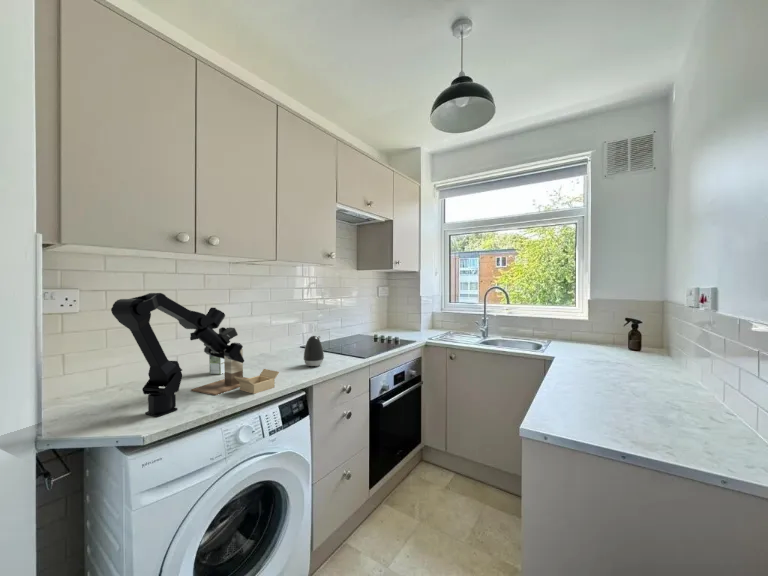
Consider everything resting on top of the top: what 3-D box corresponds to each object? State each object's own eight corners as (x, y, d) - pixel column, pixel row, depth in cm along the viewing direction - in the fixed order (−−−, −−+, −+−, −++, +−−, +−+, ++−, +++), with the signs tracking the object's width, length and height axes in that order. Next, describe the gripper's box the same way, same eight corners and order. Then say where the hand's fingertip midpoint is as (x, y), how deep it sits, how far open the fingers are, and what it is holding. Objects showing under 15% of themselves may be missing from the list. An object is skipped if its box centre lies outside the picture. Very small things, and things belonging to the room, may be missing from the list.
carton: (248, 395, 117) (248, 380, 117) (234, 391, 122) (233, 376, 122) (279, 385, 128) (279, 371, 128) (264, 382, 133) (264, 368, 133)
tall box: (231, 385, 127) (231, 351, 127) (224, 383, 130) (224, 349, 130) (243, 382, 131) (242, 348, 131) (236, 380, 134) (235, 347, 134)
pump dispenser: (328, 364, 164) (327, 334, 164) (316, 369, 154) (315, 337, 154) (312, 362, 168) (311, 333, 168) (299, 367, 159) (299, 336, 159)
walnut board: (216, 395, 117) (216, 393, 117) (191, 390, 123) (191, 389, 123) (258, 380, 136) (258, 379, 136) (234, 377, 141) (234, 375, 141)
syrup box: (228, 371, 151) (227, 341, 151) (220, 374, 145) (220, 343, 145) (216, 371, 152) (216, 341, 152) (208, 374, 146) (208, 343, 146)
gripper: (237, 322, 122) (262, 346, 131) (211, 320, 132) (236, 342, 141) (218, 346, 115) (245, 370, 125) (191, 342, 125) (219, 364, 135)
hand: (236, 360), depth 131 cm, fingers open, 9 cm apart
